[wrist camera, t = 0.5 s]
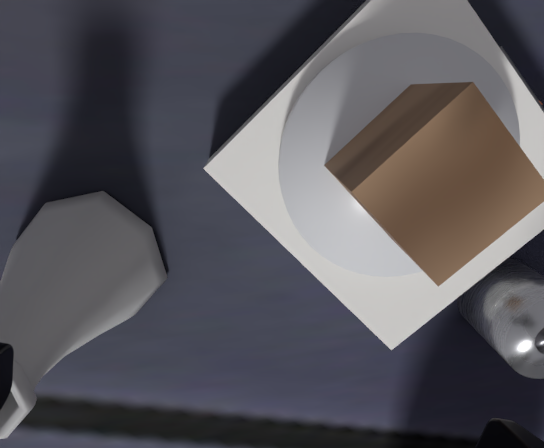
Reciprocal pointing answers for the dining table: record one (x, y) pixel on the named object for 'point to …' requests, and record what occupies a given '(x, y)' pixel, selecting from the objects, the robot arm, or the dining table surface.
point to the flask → (71, 286)
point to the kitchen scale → (345, 126)
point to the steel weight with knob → (510, 315)
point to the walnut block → (439, 175)
